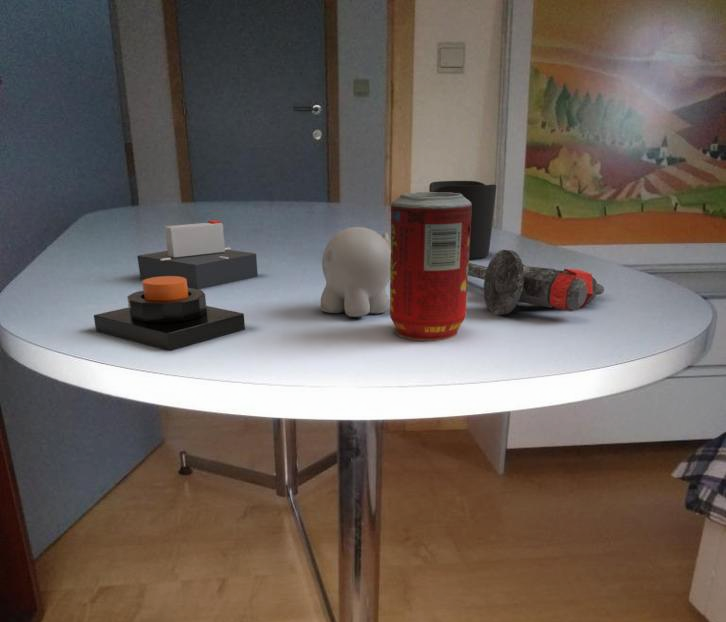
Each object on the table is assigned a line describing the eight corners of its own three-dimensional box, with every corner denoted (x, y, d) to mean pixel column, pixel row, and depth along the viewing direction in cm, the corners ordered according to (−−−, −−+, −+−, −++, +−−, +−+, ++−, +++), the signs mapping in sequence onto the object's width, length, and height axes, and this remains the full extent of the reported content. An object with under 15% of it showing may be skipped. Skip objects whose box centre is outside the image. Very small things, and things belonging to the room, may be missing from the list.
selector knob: (173, 257, 88) (169, 225, 87) (167, 256, 89) (163, 224, 88) (225, 252, 92) (222, 221, 90) (218, 250, 93) (216, 219, 92)
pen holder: (498, 253, 108) (504, 181, 104) (480, 263, 101) (485, 186, 96) (439, 249, 112) (442, 180, 107) (417, 259, 104) (419, 184, 100)
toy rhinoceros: (437, 305, 78) (440, 222, 74) (355, 325, 71) (354, 234, 67) (390, 295, 83) (391, 217, 79) (309, 312, 75) (305, 227, 72)
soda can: (480, 337, 66) (489, 194, 61) (414, 348, 63) (417, 199, 58) (438, 321, 72) (443, 189, 66) (376, 330, 69) (375, 193, 64)
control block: (96, 332, 69) (89, 295, 67) (171, 314, 75) (167, 280, 73) (170, 352, 63) (165, 312, 61) (245, 331, 69) (242, 294, 67)
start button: (135, 300, 67) (133, 281, 66) (170, 292, 70) (167, 274, 69) (163, 306, 65) (160, 286, 64) (197, 298, 68) (195, 279, 67)
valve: (649, 334, 74) (524, 326, 68) (516, 295, 96) (414, 286, 90) (666, 270, 71) (538, 256, 66) (525, 245, 94) (421, 233, 88)
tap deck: (136, 280, 91) (132, 254, 90) (204, 267, 99) (201, 243, 98) (194, 291, 85) (191, 264, 84) (261, 276, 93) (260, 251, 92)
